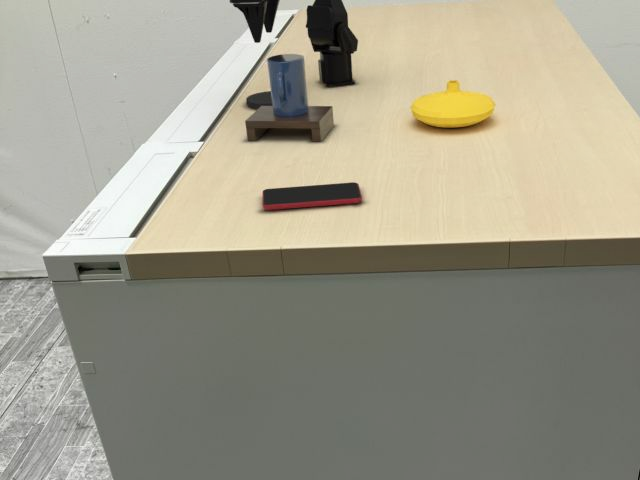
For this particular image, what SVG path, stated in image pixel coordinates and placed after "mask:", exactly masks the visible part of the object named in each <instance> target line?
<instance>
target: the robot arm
mask: <svg viewBox="0 0 640 480" xmlns="http://www.w3.org/2000/svg"><path fill="white" fill-rule="evenodd" d="M229 3H230V4H232V6H233V7H234V8H237V9H238V10H239V11H240V12H241V13H242V14H243V17H244V18H245V20H246V21H245V22H246V23H247V27H248V29H249V32H250V34H251V38H252V39H253V42H254V43H256V44H260V43H261V41H262V35H263V30H264V29H265V33H268V34H269V33H273V29H274V24H275V20H276V17H277V16H276V15H277V13H278V8H279V4H280V0H229ZM305 28H306V29H307V37H308V38H309V41H310V45H311V47H312V51H313V53H319V59H318V60H317V64H318V76H319V77H318V78H319V81H320V82H321V83H322V84H323V86H325V87H326V88H331V87H338V86H346V85H354V84H356V80H354V78H353V65H352V62H353V61H352V55H353V54H355V53H356V52H357V51H358V45H359V39H358V38H357V37H356V35H355V34H354V33H353V31H352V30H351V28H350V27H349V15H348V12H347V9H346V7H345V4H344V2H343V0H314V2H313V4H312V5H311V4H310V5H307V8H306V24H305Z"/></svg>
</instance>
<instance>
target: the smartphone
mask: <svg viewBox="0 0 640 480" xmlns="http://www.w3.org/2000/svg"><path fill="white" fill-rule="evenodd" d="M362 200H363V195H362V192H361V188H360V184H359V183H358V182H342V183H341V182H340V183H327V184H314V185H302V186H299V185H298V186H287V187H274V188H273V187H272V188H266V189H263V190H262V207H263V209H265V210H266V211H273V210H286V209H298V208H299V209H300V208H312V207H325V206H337V205H349V204H358V203H360V202H361V201H362Z"/></svg>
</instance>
